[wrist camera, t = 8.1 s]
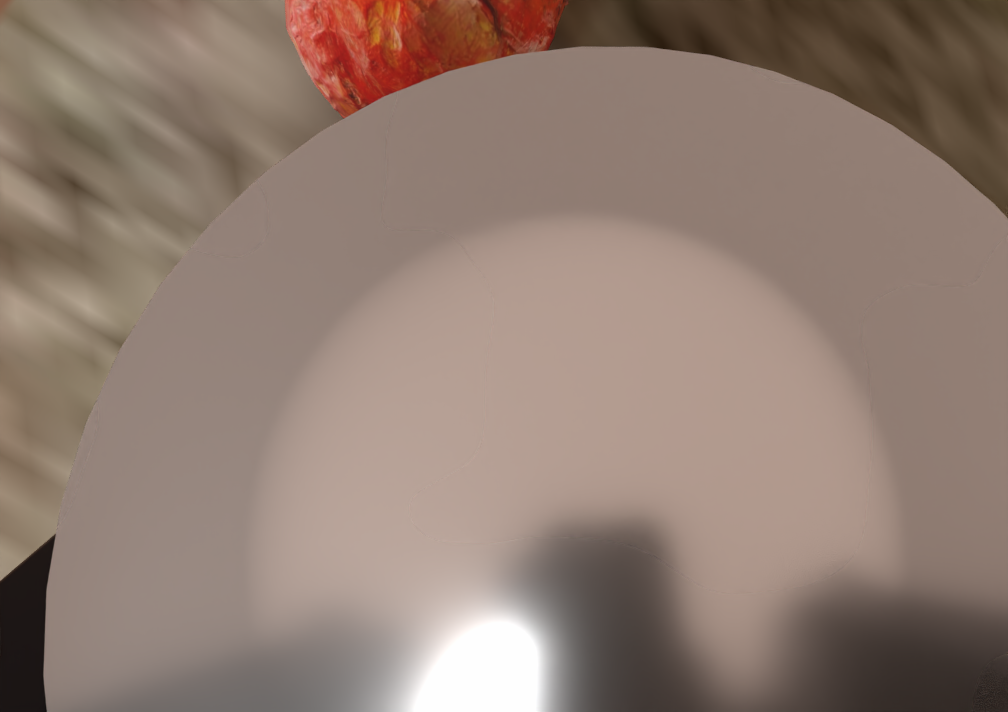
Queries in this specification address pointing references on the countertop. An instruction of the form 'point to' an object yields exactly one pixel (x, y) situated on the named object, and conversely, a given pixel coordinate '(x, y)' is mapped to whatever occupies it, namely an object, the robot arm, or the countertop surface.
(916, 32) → the countertop surface
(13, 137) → the countertop surface
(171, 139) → the countertop surface
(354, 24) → the pomegranate
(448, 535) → the clear drinking glass
